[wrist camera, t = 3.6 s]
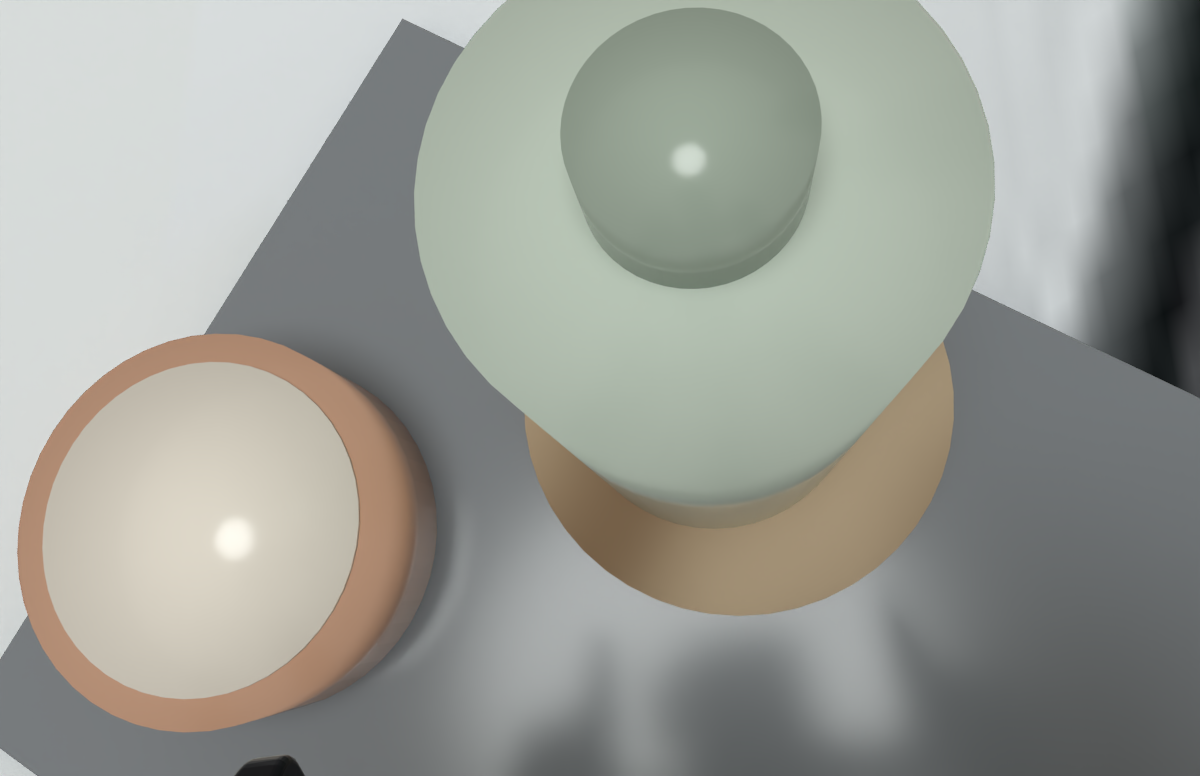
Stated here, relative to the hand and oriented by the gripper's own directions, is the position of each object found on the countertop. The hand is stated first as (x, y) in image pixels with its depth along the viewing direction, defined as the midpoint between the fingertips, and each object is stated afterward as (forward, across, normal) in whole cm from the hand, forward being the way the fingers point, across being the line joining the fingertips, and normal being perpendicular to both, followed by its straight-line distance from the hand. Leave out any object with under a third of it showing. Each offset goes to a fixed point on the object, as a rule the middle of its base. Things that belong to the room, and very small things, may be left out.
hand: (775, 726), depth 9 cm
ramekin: (+11, +10, +6) cm, 16 cm away
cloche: (+12, 0, +4) cm, 12 cm away
